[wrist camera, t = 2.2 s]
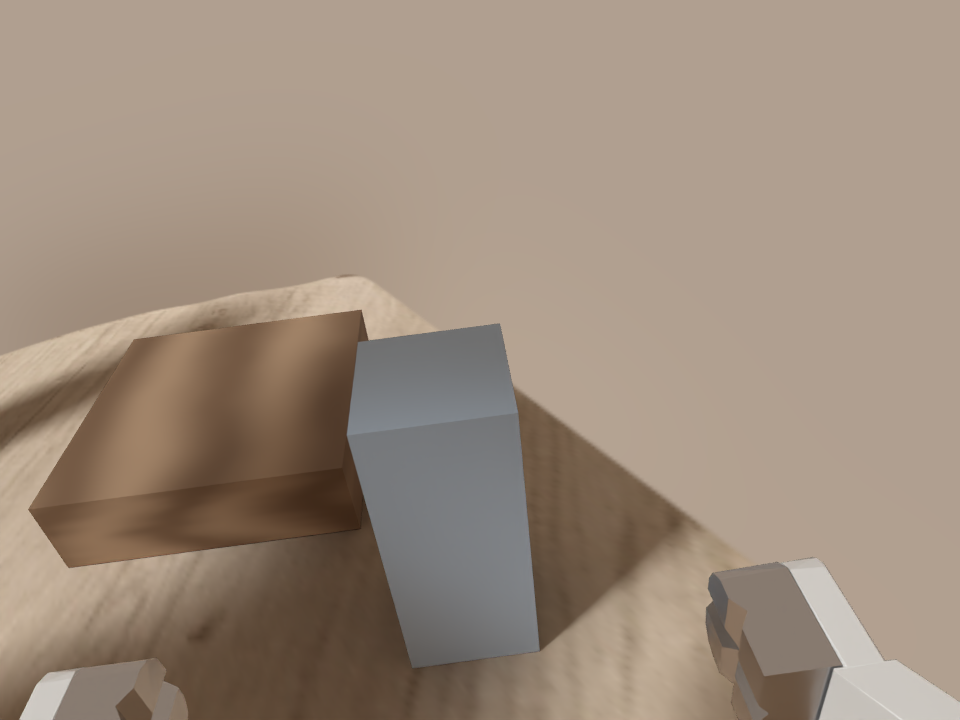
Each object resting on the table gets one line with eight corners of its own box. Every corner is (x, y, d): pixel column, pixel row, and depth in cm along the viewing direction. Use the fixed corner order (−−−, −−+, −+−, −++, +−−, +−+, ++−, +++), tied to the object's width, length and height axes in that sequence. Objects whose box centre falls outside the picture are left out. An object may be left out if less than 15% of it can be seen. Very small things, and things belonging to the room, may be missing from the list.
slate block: (412, 668, 27) (346, 435, 20) (412, 564, 31) (357, 341, 24) (539, 651, 27) (518, 412, 20) (522, 549, 31) (500, 323, 24)
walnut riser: (68, 567, 33) (28, 509, 30) (158, 391, 44) (134, 339, 42) (360, 528, 33) (342, 467, 30) (373, 362, 44) (361, 309, 42)
